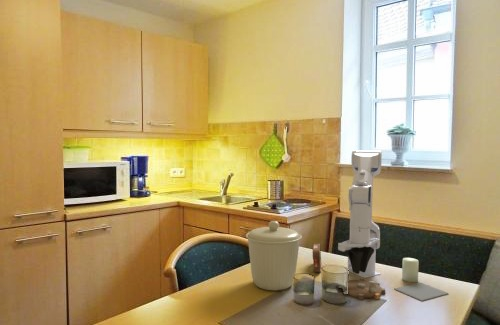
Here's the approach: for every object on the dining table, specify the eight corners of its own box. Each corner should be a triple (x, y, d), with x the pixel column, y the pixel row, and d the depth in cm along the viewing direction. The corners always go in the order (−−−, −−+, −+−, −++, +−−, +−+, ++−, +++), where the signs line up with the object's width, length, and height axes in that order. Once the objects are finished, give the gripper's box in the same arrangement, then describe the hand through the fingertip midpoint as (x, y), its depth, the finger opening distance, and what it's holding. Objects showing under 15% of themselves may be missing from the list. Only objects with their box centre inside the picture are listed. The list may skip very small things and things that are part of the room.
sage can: (398, 279, 128) (399, 258, 127) (408, 276, 130) (409, 257, 130) (411, 283, 123) (411, 263, 123) (421, 281, 126) (421, 261, 125)
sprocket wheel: (329, 286, 120) (329, 273, 119) (362, 279, 126) (362, 267, 126) (360, 303, 107) (361, 288, 107) (395, 294, 114) (395, 281, 113)
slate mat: (394, 290, 118) (394, 288, 118) (420, 284, 123) (420, 282, 123) (421, 302, 109) (421, 300, 109) (448, 295, 114) (448, 293, 114)
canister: (236, 290, 117) (236, 224, 116) (257, 272, 133) (257, 214, 132) (292, 300, 110) (293, 229, 109) (306, 279, 127) (307, 218, 126)
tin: (320, 275, 131) (321, 252, 130) (311, 275, 131) (312, 251, 131) (321, 262, 145) (321, 241, 145) (313, 262, 146) (313, 240, 146)
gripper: (350, 231, 102) (349, 280, 103) (388, 226, 109) (387, 272, 109) (333, 226, 108) (332, 272, 109) (370, 222, 115) (369, 265, 116)
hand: (359, 272), depth 110 cm, fingers closed
